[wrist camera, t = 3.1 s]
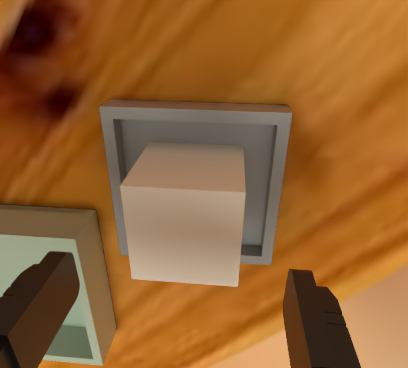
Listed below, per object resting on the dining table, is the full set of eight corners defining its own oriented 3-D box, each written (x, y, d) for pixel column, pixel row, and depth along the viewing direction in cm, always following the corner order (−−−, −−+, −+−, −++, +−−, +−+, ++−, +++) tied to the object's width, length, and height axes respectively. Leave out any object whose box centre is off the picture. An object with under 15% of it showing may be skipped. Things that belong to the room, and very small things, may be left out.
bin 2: (127, 239, 21) (120, 254, 20) (109, 98, 17) (99, 106, 16) (268, 248, 20) (270, 265, 19) (287, 104, 16) (292, 113, 15)
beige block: (155, 219, 20) (131, 279, 15) (149, 141, 17) (119, 186, 13) (237, 224, 19) (238, 286, 15) (243, 145, 17) (245, 192, 12)
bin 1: (-17, 317, 26) (-45, 351, 24) (-70, 200, 21) (-114, 227, 18) (116, 329, 26) (102, 365, 23) (96, 209, 20) (74, 239, 18)
